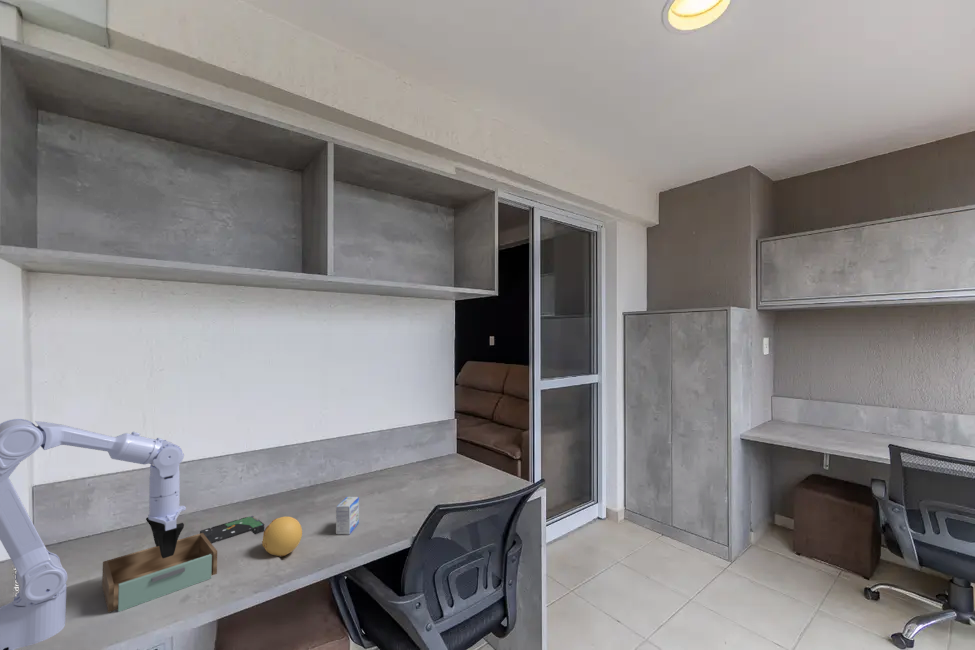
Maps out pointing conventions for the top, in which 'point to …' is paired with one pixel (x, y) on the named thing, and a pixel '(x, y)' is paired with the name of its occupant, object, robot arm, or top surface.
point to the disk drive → (233, 529)
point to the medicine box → (347, 515)
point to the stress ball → (282, 536)
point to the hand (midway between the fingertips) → (164, 550)
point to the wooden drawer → (151, 564)
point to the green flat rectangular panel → (163, 582)
